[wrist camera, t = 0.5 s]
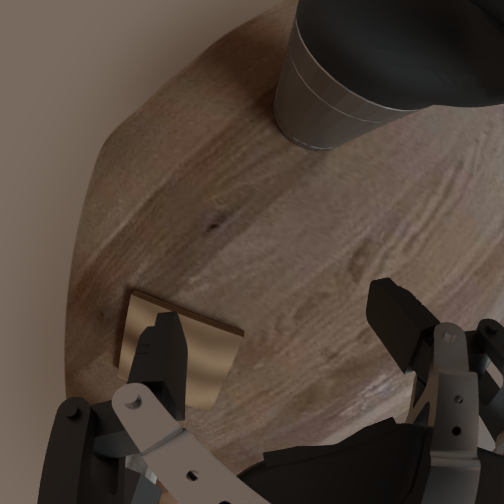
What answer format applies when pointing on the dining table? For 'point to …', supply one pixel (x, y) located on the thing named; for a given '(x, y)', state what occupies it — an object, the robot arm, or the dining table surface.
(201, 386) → the post
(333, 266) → the dining table surface
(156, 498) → the collar
